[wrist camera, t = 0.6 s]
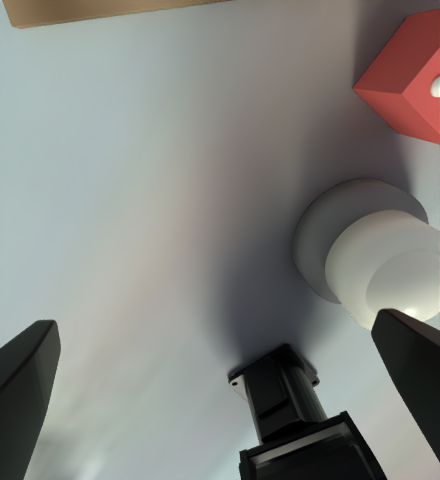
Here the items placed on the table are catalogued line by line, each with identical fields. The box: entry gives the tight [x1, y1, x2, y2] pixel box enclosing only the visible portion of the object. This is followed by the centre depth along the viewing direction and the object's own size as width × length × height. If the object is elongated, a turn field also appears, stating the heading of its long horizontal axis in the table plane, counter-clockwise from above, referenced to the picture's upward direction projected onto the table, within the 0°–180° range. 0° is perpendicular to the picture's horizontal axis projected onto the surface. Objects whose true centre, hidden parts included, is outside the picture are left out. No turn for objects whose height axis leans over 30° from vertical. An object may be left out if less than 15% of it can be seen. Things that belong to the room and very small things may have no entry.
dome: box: [325, 210, 440, 330], centre depth 19 cm, size 7×7×5 cm
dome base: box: [292, 178, 429, 304], centre depth 23 cm, size 9×9×2 cm
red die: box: [352, 9, 440, 144], centre depth 18 cm, size 4×4×5 cm
